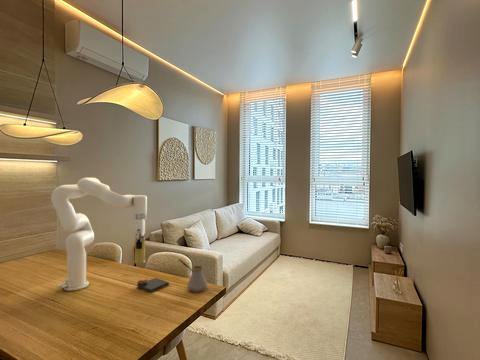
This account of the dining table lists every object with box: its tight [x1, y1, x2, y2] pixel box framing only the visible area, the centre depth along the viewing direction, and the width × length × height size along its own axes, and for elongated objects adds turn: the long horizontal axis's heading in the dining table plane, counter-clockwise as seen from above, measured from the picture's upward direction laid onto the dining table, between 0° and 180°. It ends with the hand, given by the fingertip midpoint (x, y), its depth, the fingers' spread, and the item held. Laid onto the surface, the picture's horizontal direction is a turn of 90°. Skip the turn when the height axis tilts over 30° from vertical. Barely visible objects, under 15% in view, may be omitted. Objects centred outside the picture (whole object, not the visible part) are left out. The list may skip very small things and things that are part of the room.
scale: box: [137, 277, 170, 294], centre depth 155 cm, size 14×13×4 cm
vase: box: [133, 236, 146, 265], centre depth 153 cm, size 6×6×14 cm
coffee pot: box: [177, 258, 208, 293], centre depth 155 cm, size 21×12×15 cm, turn 57°
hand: (140, 247), depth 153 cm, fingers closed on vase, 5 cm apart
